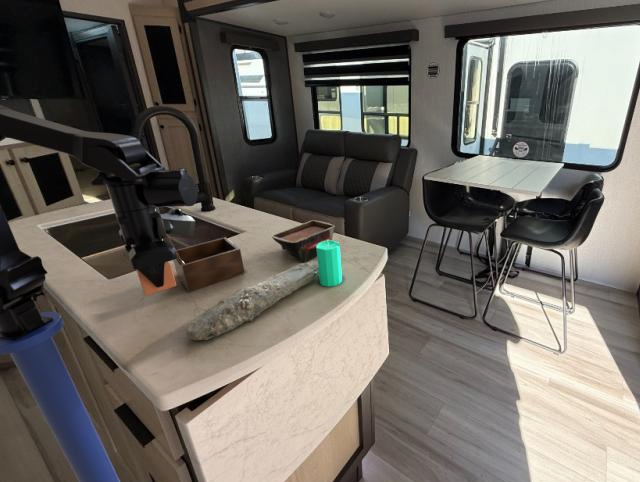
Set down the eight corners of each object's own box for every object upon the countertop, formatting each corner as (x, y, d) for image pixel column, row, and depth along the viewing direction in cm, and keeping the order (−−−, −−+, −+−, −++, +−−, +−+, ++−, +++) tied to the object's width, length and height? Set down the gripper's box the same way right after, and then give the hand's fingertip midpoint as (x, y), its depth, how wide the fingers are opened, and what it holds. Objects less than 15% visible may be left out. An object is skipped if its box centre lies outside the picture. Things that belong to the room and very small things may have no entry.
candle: (331, 289, 81) (327, 246, 77) (314, 282, 84) (310, 240, 80) (347, 278, 86) (344, 237, 81) (330, 272, 88) (327, 233, 84)
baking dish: (273, 257, 101) (265, 231, 96) (318, 233, 113) (313, 208, 108) (299, 275, 93) (292, 247, 88) (345, 247, 105) (341, 221, 100)
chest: (229, 259, 96) (225, 236, 94) (244, 272, 89) (240, 248, 86) (177, 275, 87) (170, 251, 85) (188, 291, 79) (181, 266, 77)
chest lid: (145, 200, 78) (141, 201, 77) (154, 210, 70) (150, 212, 70) (171, 249, 85) (168, 250, 84) (183, 263, 77) (179, 265, 77)
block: (145, 295, 60) (138, 272, 59) (141, 285, 64) (134, 263, 62) (176, 285, 64) (170, 263, 62) (171, 276, 67) (164, 255, 65)
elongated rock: (333, 277, 88) (307, 270, 93) (331, 260, 87) (305, 253, 92) (205, 351, 59) (178, 335, 64) (199, 327, 58) (172, 312, 63)
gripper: (198, 208, 57) (216, 283, 63) (174, 190, 70) (191, 254, 75) (119, 224, 50) (146, 308, 55) (108, 200, 62) (131, 270, 68)
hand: (157, 281), depth 63 cm, fingers closed on block, 5 cm apart
